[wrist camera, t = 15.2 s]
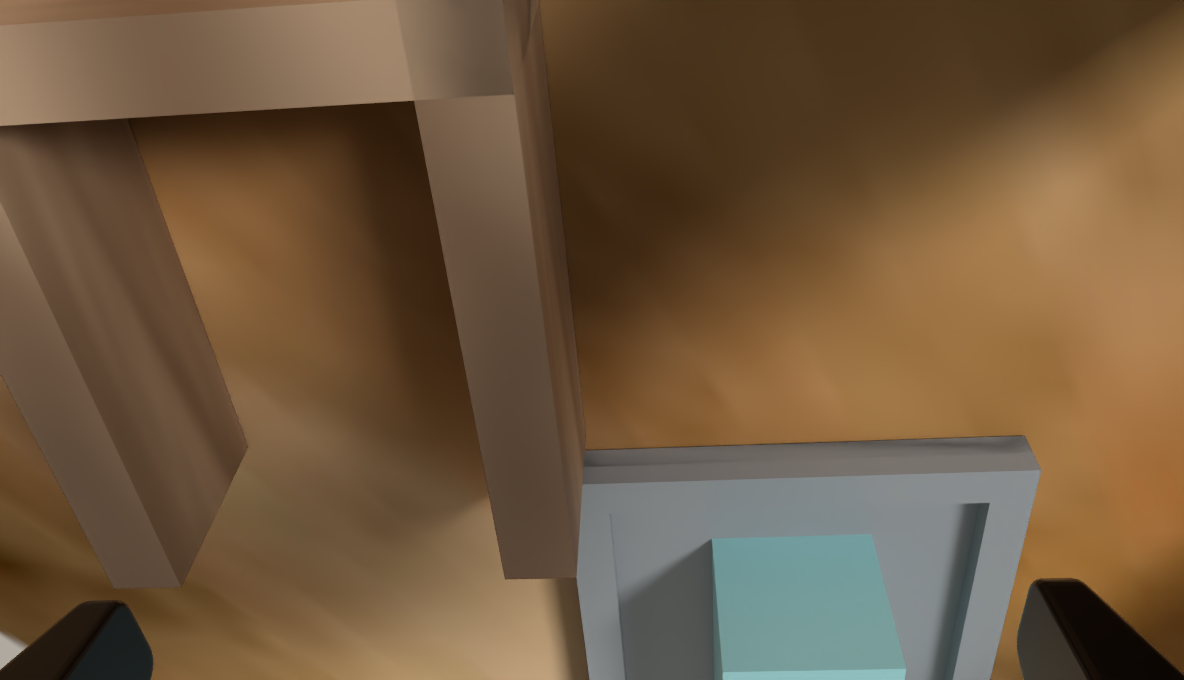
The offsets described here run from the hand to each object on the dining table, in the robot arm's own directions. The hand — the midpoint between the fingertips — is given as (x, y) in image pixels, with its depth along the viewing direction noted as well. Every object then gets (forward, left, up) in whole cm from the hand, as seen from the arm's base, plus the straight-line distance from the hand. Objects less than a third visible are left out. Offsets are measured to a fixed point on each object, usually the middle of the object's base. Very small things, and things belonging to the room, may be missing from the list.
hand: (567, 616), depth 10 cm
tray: (-4, +15, -12) cm, 20 cm away
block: (-4, +11, -9) cm, 15 cm away
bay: (+6, +2, -12) cm, 14 cm away
